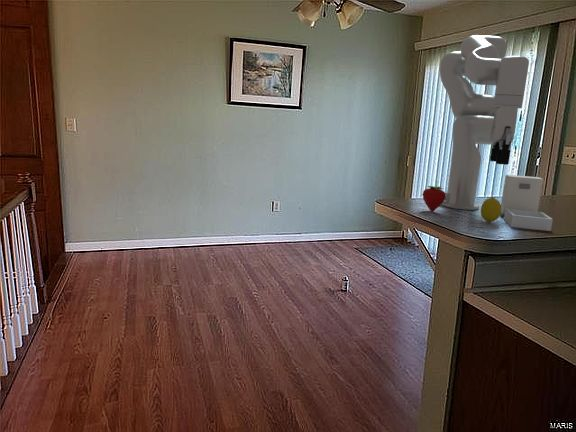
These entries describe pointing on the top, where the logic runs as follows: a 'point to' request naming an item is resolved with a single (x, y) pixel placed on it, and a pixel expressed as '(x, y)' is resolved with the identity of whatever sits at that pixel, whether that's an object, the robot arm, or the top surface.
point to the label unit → (521, 193)
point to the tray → (528, 219)
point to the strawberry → (433, 197)
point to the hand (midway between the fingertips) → (498, 162)
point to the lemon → (491, 209)
